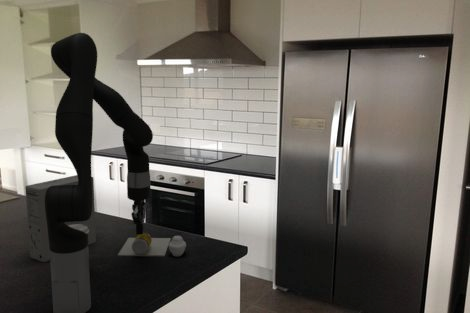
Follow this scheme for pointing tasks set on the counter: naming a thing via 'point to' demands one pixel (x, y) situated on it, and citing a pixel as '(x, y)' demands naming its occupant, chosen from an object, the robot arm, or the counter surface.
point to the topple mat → (155, 248)
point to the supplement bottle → (141, 243)
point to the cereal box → (38, 217)
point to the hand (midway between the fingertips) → (139, 233)
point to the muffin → (177, 246)
